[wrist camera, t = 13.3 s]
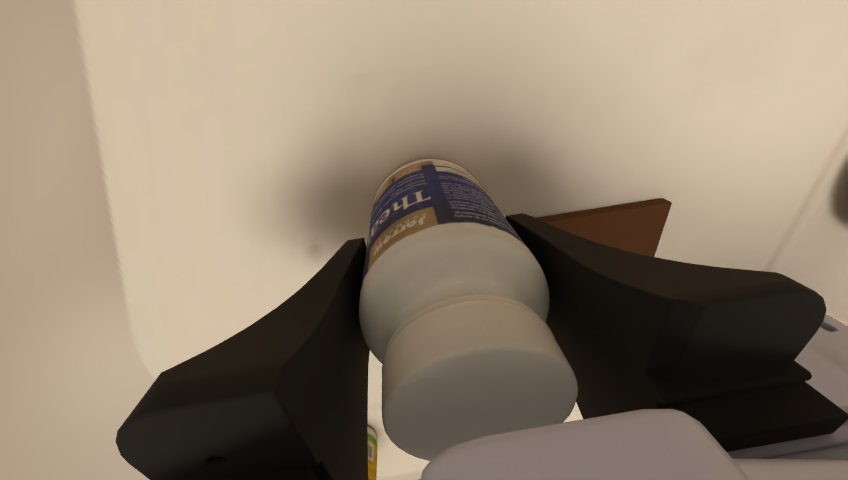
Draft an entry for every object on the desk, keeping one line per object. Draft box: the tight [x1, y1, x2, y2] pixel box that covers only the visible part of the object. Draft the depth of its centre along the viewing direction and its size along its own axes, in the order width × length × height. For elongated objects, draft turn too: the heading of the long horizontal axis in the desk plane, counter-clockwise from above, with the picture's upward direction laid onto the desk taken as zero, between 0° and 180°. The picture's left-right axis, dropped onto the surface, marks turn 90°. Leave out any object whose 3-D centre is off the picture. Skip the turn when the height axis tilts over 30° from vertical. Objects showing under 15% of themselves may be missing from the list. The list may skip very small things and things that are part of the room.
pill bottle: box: [359, 159, 578, 461], centre depth 10 cm, size 5×5×10 cm
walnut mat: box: [536, 199, 672, 257], centre depth 18 cm, size 9×9×1 cm
